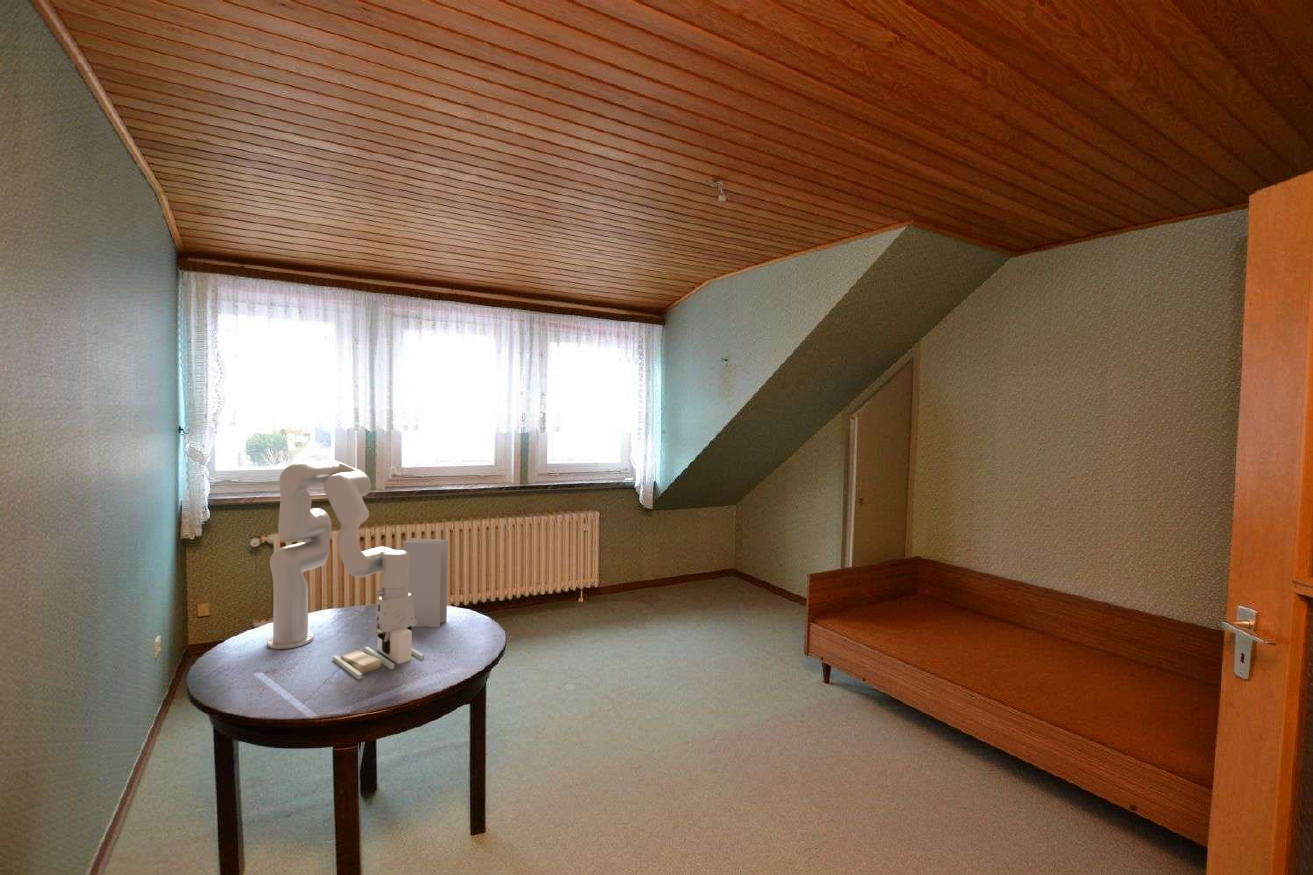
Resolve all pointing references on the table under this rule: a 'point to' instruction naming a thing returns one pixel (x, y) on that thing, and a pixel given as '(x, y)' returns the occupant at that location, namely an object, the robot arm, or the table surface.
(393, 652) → the cream rectangular block
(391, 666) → the rack
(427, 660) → the table surface
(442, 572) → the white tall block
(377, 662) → the offcut upper
